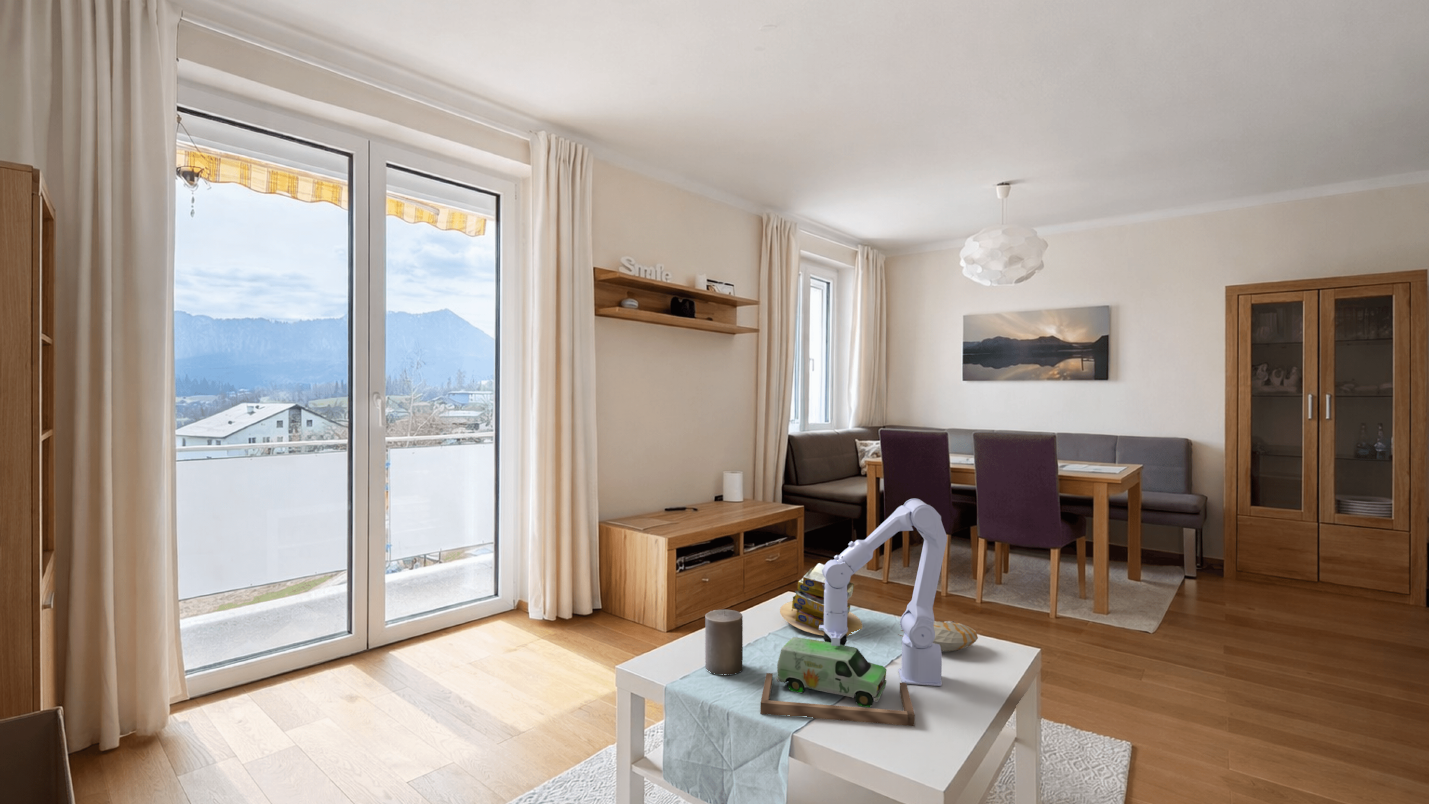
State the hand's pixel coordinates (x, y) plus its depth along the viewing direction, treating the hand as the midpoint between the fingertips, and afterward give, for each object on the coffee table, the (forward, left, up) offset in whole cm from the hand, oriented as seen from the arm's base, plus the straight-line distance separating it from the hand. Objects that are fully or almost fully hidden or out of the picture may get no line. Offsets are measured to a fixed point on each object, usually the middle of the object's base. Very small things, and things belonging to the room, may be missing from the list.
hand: (834, 664), depth 173 cm
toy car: (+1, +7, -4) cm, 8 cm away
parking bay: (0, +14, -3) cm, 14 cm away
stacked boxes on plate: (+4, -39, -4) cm, 39 cm away
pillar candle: (+28, -1, -4) cm, 28 cm away
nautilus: (-28, -26, -4) cm, 38 cm away
